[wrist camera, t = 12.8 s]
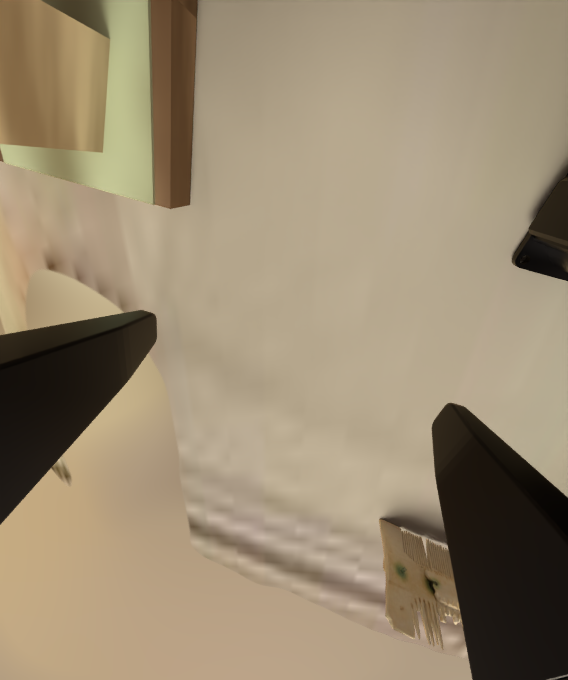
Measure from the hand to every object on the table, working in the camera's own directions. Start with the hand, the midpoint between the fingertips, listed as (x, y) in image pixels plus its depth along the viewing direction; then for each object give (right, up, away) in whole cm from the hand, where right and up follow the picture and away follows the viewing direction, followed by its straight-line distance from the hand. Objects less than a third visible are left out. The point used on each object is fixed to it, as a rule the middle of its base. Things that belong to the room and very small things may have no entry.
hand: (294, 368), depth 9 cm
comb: (+18, -23, +25) cm, 38 cm away
